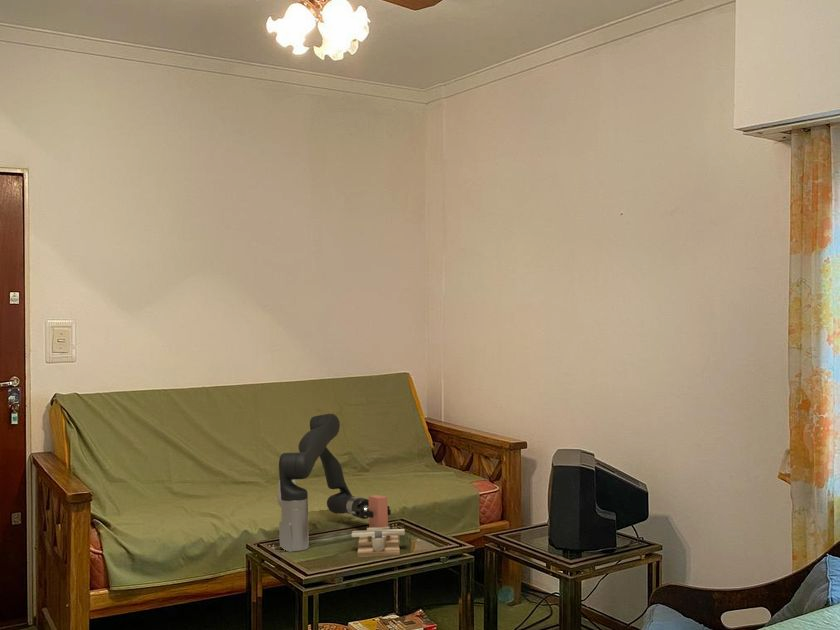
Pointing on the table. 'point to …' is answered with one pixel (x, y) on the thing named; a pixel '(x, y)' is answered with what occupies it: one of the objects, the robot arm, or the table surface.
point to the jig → (378, 541)
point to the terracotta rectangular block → (378, 511)
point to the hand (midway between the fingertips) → (381, 513)
